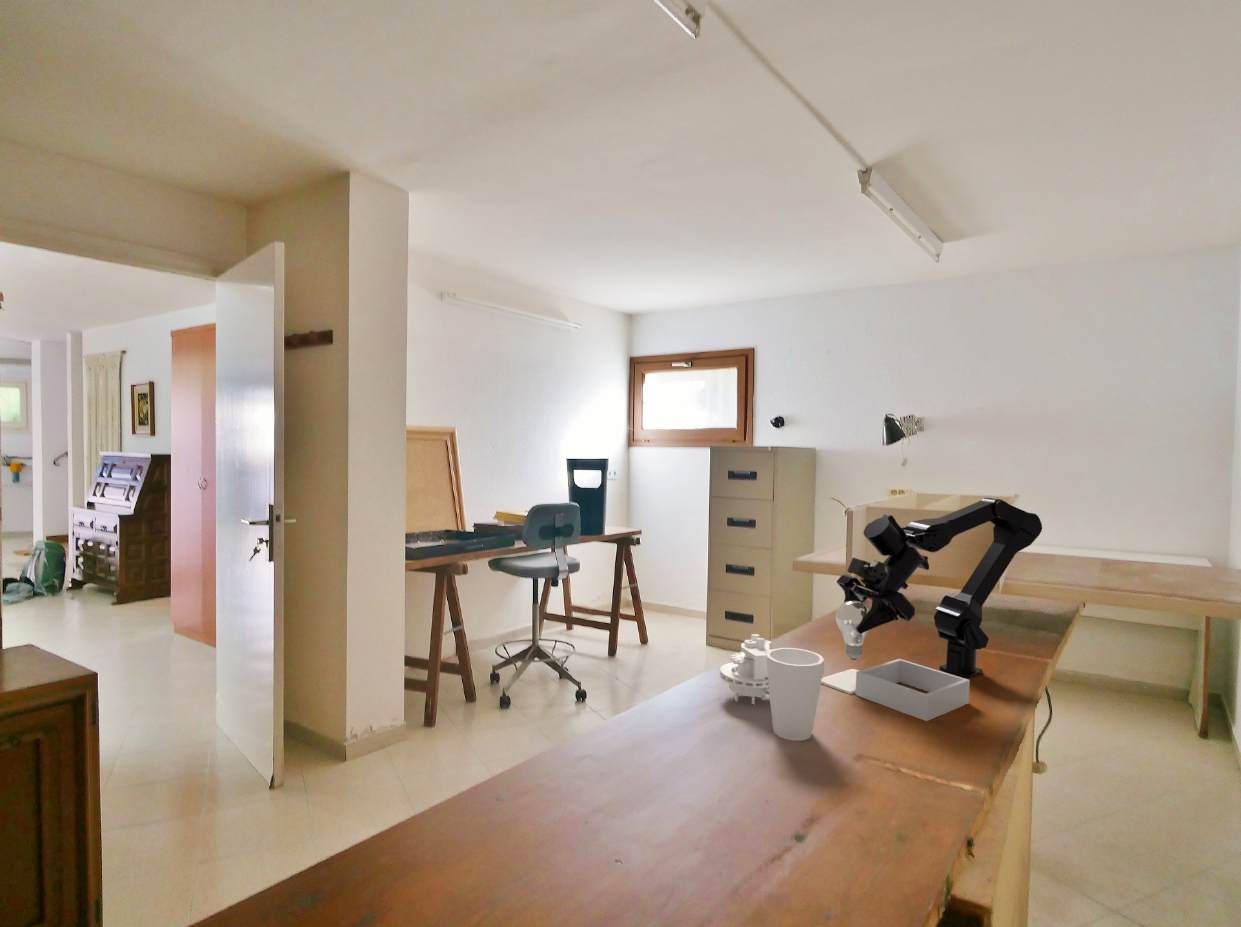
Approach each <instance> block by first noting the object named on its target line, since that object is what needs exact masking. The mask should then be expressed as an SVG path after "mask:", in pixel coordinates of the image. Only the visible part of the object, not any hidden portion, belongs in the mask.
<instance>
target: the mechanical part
mask: <svg viewBox="0 0 1241 927" xmlns="http://www.w3.org/2000/svg"><path fill="white" fill-rule="evenodd" d="M740 648H741V650H740V651H739V652H733V654H731V655H730V661H731V662H729V663H728V662H727V663H724V664H723V665H722V666H720V668H719V677H720V679H721V680H722V681H724V682H726V683H727V684H728V688H729V690H730V691H731V692H733V693H734V702H738V701H739V695H740V696H744V697H751V705H752V704H753V705H755V699H756V698H755V697H761V701H763V700H764V701H765V698H766V695H769V696H770V694H769V683H768V673H767V669H766V653H767V652H768V651H770V650H772V641H771V640H767V639H765V638H764V637H760V634H758V633H755V634H754V633H753V634H751V635H750V639H744V642H742V643H741V645H740ZM753 705H752V706H753Z"/></svg>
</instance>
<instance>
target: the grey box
mask: <svg viewBox="0 0 1241 927" xmlns="http://www.w3.org/2000/svg"><path fill="white" fill-rule="evenodd" d="M898 683H902V684H905V685H907V684H908V685H907V686H910V687H913V686H914V687H913V688H917V689H919V690H922V689H923V690H922V691H926V692H927V693H924V692H922V691H919V690H916V689H913V688H909V687H906V686H904V685H900V684H898ZM970 684H971V681H970V679H968V678H963V677H961V676H957V675H955V674H952V673H947V672H944V671H943V670H942V671H941V670H938V669H934V668H931V667H928V666H925V665H922V664H918V663H914V662H911V661H908V660H905V659H902V658H897V659H894V660H891V661H886V662H884V663H880V664H879V665H878V664H877V665H875V666H871V667H868V668H865V669H862V670H859V671H858V672H856V693H854V695H855V696H858V697H860V698H862V699H865V700H869V701H871V702H874V703H876V704H879V705H881V706H884V707H887V708H890V709H893V710H894V711H898V712H900V713H902V714H907V715H908V716H912V717H914V718H917V719H920V720H922V721H925V722H928V721H931V720H932V719H935V718H937V717H940V716H942V715H945V714H947V713H949V712H952V711H954V710H956V709H959V708H961V707H964V706H966V705H968V704H970V702H969V701H970ZM965 704H966V705H965Z"/></svg>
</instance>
